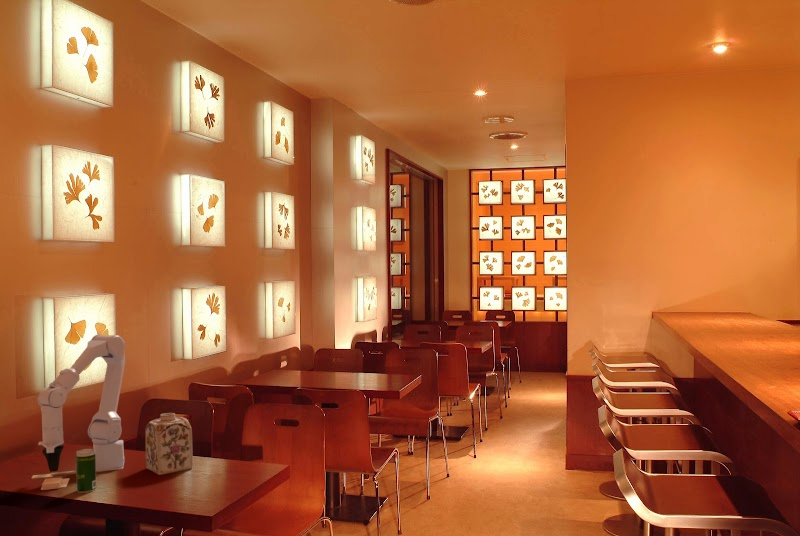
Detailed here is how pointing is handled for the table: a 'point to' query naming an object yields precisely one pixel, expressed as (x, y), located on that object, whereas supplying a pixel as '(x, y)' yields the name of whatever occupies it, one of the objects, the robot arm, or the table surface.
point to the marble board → (64, 482)
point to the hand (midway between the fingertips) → (53, 470)
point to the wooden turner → (52, 474)
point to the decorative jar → (169, 444)
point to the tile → (52, 483)
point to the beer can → (86, 470)
